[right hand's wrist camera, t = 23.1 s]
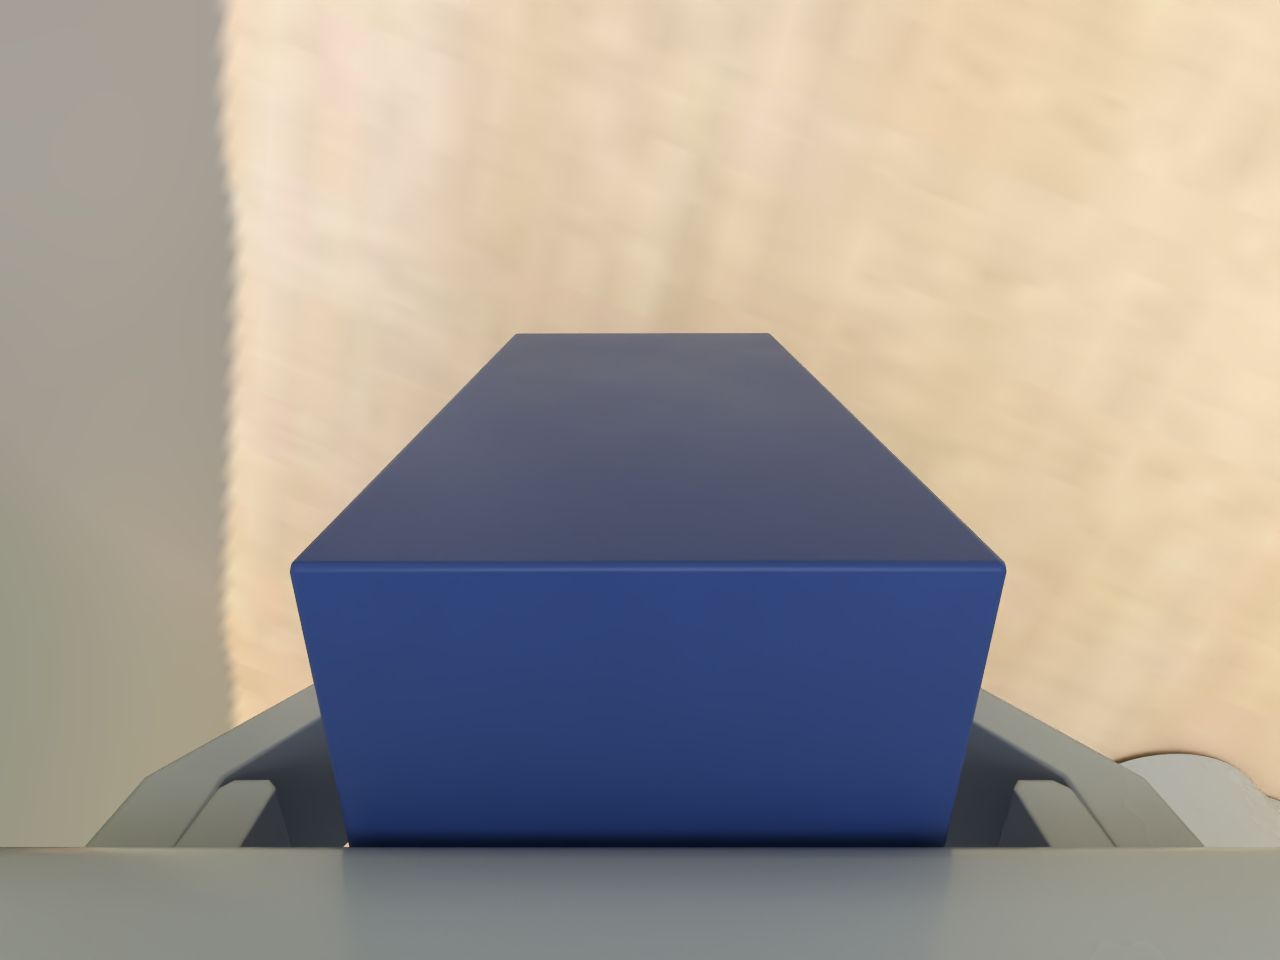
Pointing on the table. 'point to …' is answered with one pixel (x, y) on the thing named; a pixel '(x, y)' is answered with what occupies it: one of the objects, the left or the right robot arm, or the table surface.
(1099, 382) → the table surface
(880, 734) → the brick
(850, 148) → the table surface
